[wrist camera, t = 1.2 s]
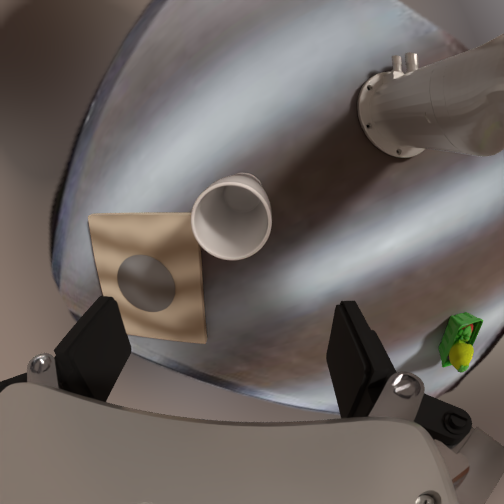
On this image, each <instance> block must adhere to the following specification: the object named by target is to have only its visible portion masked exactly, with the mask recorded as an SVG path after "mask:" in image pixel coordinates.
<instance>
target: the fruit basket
mask: <svg viewBox="0 0 504 504" xmlns="http://www.w3.org/2000/svg"><path fill="white" fill-rule="evenodd" d="M482 323H483V320H482V319H480V318H477V317H475V316H473V315H471V314H469V313H467V312H465V313H461V314H457V315H455V316H450V319H449V322H448V325H447V327H446V330H445V334H444V335H443V338H442V342H441V343H440V345H439V352H440V356H441V360H442V367H446V366H450V365H453V366H454V367H455V369H457V370H458V372H464V371H466V370H467V369H468V367H469V363H470V361H471V359H472V356H473V353H474V350H473V347H472V346H473V344H474V342H475V339H476V337H477V335H478V332H479V330H480V328H481V326H482Z"/></svg>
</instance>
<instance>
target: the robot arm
mask: <svg viewBox="0 0 504 504" xmlns="http://www.w3.org/2000/svg"><path fill="white" fill-rule="evenodd" d="M405 62H406V68H407V72H405V73H404V72H402V59H401V57H400V56H392V65H393V70H392V71H391V72H382V73H379V74H376V75H374V76H373V77H371V78H370V79H369V80H367V81H366V82H365V84H364V85H363V86H362V88H361V90H360V92H359V96H358V101H357V112H358V118H359V121H360V124H361V127H362V129H363V131H364V133H365V134H366V136H367V137H368V139H369V140H370V141H371V142H372V143H373V144H374V145H375V146H376V147H377V148H378V149H380V150H381V151H382V152H384V153H386V154H388V155H391V156H395V157H401V158H407V157H413V156H416V155H418V154H419V153H421V152H423V151H424V150H425V149H433V150H441V151H449V152H456V153H462V154H468V155H474V156H482V157H485V156H492V155H495V154H497V153H499V152H501V151H502V150H503V149H504V34H502V35H500V36H498V37H496V38H495V39H493V40H491V41H489V42H487V43H485V44H483V45H481V46H479V47H477V48H474V49H472V50H469V51H466V52H464V53H461V54H458V55H456V56H453V57H450V58H447V59H444V60H442V61H439V62H436V63H433V64H430V65H428V66H425V67H422V68H420V69H418V67H419V64H418V56H417V55H416V54H414V53H405ZM367 88H369V90H368V89H367ZM366 125H368V126H369V127H368V128H367V126H366ZM396 150H397V153H396ZM54 352H55V354H56V356H55V357H53V356H52V355H51V354H48V353H43V354H39V355H37V356H35V357H33V358H32V359H31V360H30V362H29V364H28V367H27V373H24V374H21V375H18V376H15V377H13V378H10V379H7V380H4V381H2V382H0V504H485V502H486V501H487V499H488V498H489V496H490V495H491V493H492V491H493V490H494V488H495V486H496V485H497V483H498V482H499V480H500V478H501V476H502V474H503V473H504V446H502V445H501V444H500V443H498V442H497V441H496V440H494V439H493V438H492V437H490V436H489V435H487V434H486V433H485V432H484V431H482V430H481V429H480V428H478V427H476V428H475V429H474V428H473V427H472V421H471V418H470V416H469V414H468V413H467V412H466V411H464V410H463V409H461V408H458V407H455V406H453V405H451V404H448V403H445V402H443V401H441V400H438V399H436V398H434V397H431V396H429V395H426V394H424V390H425V387H424V383H423V382H422V380H421V379H420V378H419V377H418V376H416V375H414V374H412V373H409V372H398V373H397V372H396V370H395V368H394V366H393V364H392V362H391V360H390V358H389V357H388V355H387V353H386V351H385V349H384V347H383V345H382V343H381V341H380V339H379V337H378V336H377V334H376V332H375V331H374V330H371V329H370V327H369V326H368V324H367V322H366V320H365V318H364V316H363V314H362V313H361V311H360V309H359V307H358V305H357V303H356V302H355V301H341V303H340V305H336V308H335V313H334V319H333V324H332V329H331V335H330V340H329V345H328V349H327V355H326V359H327V364H328V368H329V371H330V375H331V379H332V383H333V387H334V391H335V395H336V399H337V403H338V407H339V411H340V415H341V419H328V420H316V421H299V422H298V421H297V422H232V421H217V420H205V419H195V418H186V417H178V416H171V415H165V414H159V413H153V412H147V411H142V410H137V409H132V408H128V407H123V406H118V405H115V404H110V403H107V402H106V400H107V398H108V396H109V394H110V392H111V390H112V388H113V386H114V384H115V382H116V380H117V379H118V377H119V375H120V373H121V371H122V369H123V367H124V365H125V363H126V361H127V359H128V357H129V356H130V354H131V345H130V342H129V339H128V336H127V333H126V330H125V327H124V323H123V320H122V317H121V313H120V310H119V306H118V303H117V301H116V300H114V298H113V297H110V296H100V297H99V298H98V299H97V300H96V301H95V302H94V303H93V305H92V306H91V307H90V308H89V309H88V310H87V311H86V312H85V314H84V315H83V316H82V317H81V318H80V319H79V321H78V322H77V323H76V324H75V325H74V326H73V328H72V329H71V330H70V331H69V332H68V333H67V335H66V336H65V337H64V338H63V340H62V341H61V342H60V343H59V345H58V346H57V347H56V348H55V349H54Z"/></svg>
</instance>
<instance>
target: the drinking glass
mask: <svg viewBox="0 0 504 504" xmlns="http://www.w3.org/2000/svg"><path fill="white" fill-rule="evenodd" d="M271 226H272V209H271V204H270V200H269V198H268V195H267V193H266V192H265V190H264V189H263V186H262V184H261V182H260V181H259V180H258V179H257V178H256V177H255V176H253V175H252V174H249V173H237V174H234V175H231V176H227V177H224V178H221V179H219V180H217V181H215V182H214V183H212V184H211V185H210V186H208V187H207V188H206V189H205V190H204V191H203V192H202V194H201V195H200V196H199V197H198V198H197V200H196V202H195V203H194V206H193V208H192V212H191V228H192V232H193V234H194V237H195V239H196V240H197V242H198V243H199V245H200V246H201V247H202V248H203V249H204V250H205V251H206V252H208V253H209V254H211V255H213V256H215V257H217V258H220V259H224V260H240V259H244V258H247V257H249V256H252V255H253V254H255V253H256V252H258V251H259V250H260V249H261V248H262V247H263V246H264V244H265V243H266V241H267V239H268V237H269V235H270V232H271Z"/></svg>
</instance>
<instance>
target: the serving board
mask: <svg viewBox="0 0 504 504" xmlns="http://www.w3.org/2000/svg"><path fill="white" fill-rule="evenodd" d="M88 220H89V227H90V234H91V240H92V246H93V251H94V256H95V261H96V266H97V271H98V276H99V280H100V284H101V288H102V292H103V296H110V297H113V298H114V300H116V301H117V303H118V306H119V310H120V313H121V317H122V320H123V323H124V327H125V330H126V333H127V334H130V335H136V336H143V337H149V338H157V339H164V340H172V341H181V342H190V343H201V344H206V341H207V330H206V319H205V306H204V293H203V277H202V260H201V246H200V245H199V243H198V242H197V240H196V239H195V237H194V234H193V232H192V228H191V213H99V214H91V215H89V216H88Z"/></svg>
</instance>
